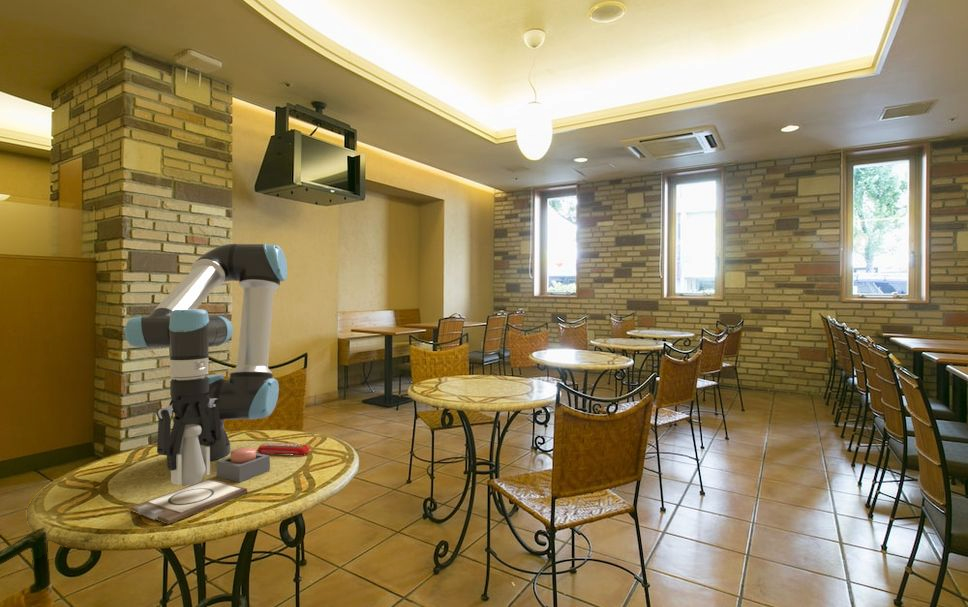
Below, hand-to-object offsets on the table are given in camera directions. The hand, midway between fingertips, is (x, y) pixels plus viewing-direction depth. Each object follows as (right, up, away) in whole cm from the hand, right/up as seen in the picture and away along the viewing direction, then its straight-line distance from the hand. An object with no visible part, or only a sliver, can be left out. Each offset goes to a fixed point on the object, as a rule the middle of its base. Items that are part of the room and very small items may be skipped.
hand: (190, 478), depth 110 cm
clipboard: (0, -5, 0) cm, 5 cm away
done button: (+3, -2, +18) cm, 18 cm away
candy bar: (+7, -5, +34) cm, 35 cm away
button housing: (+3, -5, +18) cm, 19 cm away
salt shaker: (0, -1, 0) cm, 1 cm away
